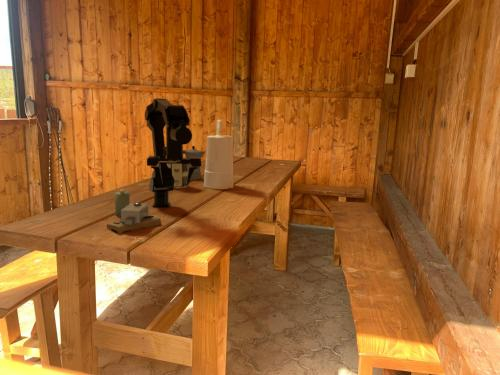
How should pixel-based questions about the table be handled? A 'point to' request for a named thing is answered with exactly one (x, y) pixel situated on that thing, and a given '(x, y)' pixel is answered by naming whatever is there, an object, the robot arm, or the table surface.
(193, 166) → the robot arm
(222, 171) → the paper towel roll holder
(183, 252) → the table surface
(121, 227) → the computer
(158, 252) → the table surface
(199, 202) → the table surface
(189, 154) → the coffeepot
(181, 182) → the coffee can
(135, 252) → the table surface
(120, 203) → the cylinder
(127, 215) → the housing
